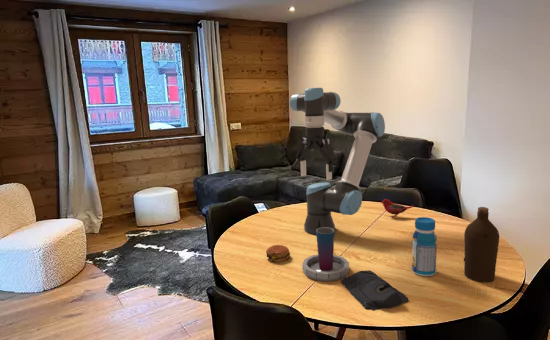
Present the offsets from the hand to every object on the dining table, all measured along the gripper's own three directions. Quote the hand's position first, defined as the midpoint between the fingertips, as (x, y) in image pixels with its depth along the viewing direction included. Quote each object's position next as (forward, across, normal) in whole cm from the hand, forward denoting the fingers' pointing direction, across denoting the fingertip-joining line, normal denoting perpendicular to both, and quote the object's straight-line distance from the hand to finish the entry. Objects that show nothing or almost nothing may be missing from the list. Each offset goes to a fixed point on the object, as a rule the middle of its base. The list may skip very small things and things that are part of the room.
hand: (316, 177), depth 157 cm
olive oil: (+32, +59, +17) cm, 69 cm away
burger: (+32, -7, -17) cm, 37 cm away
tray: (+32, +15, -14) cm, 38 cm away
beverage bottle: (+32, +43, +8) cm, 54 cm away
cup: (+31, +15, -14) cm, 37 cm away
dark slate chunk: (+32, +36, -16) cm, 51 cm away
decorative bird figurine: (+32, +6, +60) cm, 68 cm away
